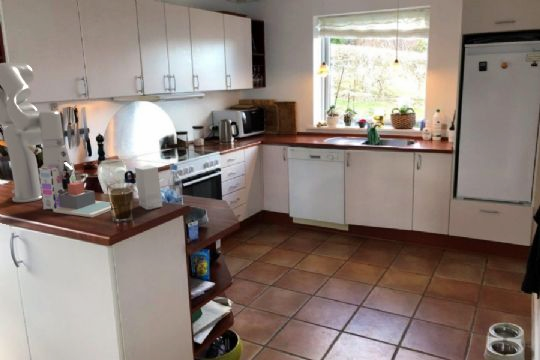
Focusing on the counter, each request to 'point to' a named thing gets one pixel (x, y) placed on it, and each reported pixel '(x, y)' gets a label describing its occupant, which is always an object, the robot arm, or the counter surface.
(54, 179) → the candy box
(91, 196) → the grey block on board
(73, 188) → the die plunger
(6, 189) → the counter surface
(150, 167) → the skincare box
